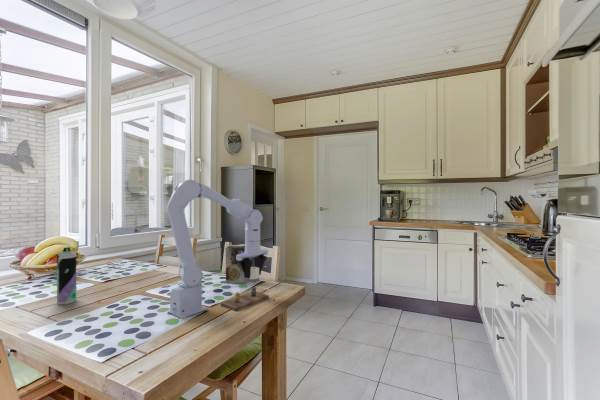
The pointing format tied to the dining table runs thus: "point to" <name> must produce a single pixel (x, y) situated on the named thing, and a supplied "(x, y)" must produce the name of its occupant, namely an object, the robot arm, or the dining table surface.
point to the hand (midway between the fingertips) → (252, 276)
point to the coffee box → (234, 265)
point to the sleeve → (253, 275)
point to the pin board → (244, 300)
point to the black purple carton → (66, 277)
